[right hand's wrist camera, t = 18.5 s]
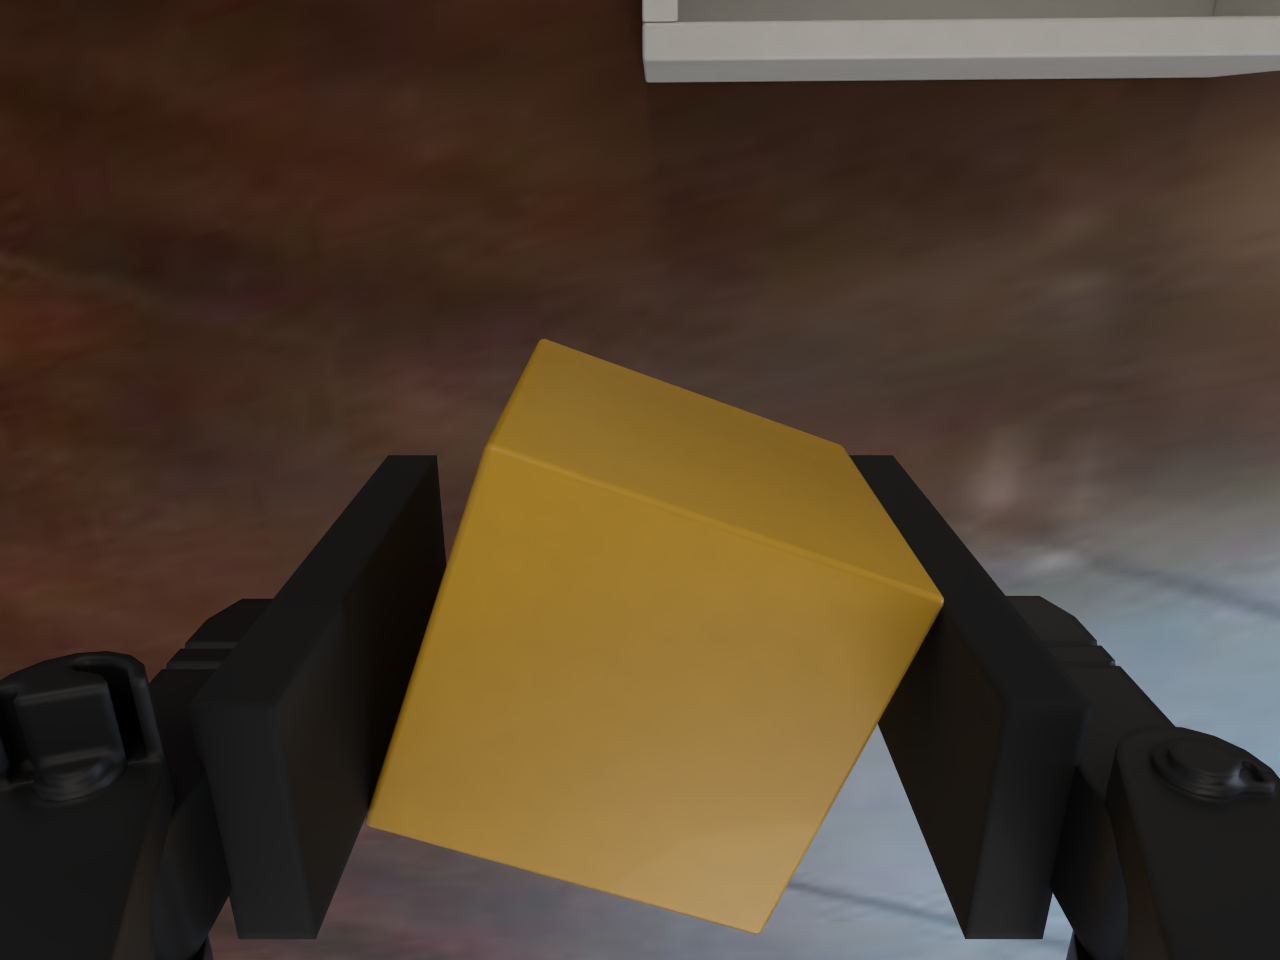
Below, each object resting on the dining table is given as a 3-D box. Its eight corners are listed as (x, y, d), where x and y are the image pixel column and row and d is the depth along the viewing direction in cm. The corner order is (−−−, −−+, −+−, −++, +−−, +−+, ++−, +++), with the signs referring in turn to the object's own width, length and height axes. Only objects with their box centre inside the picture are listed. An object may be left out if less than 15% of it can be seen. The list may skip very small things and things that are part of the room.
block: (449, 612, 15) (362, 828, 10) (541, 336, 13) (485, 441, 9) (724, 698, 16) (760, 938, 11) (844, 445, 14) (949, 600, 9)
